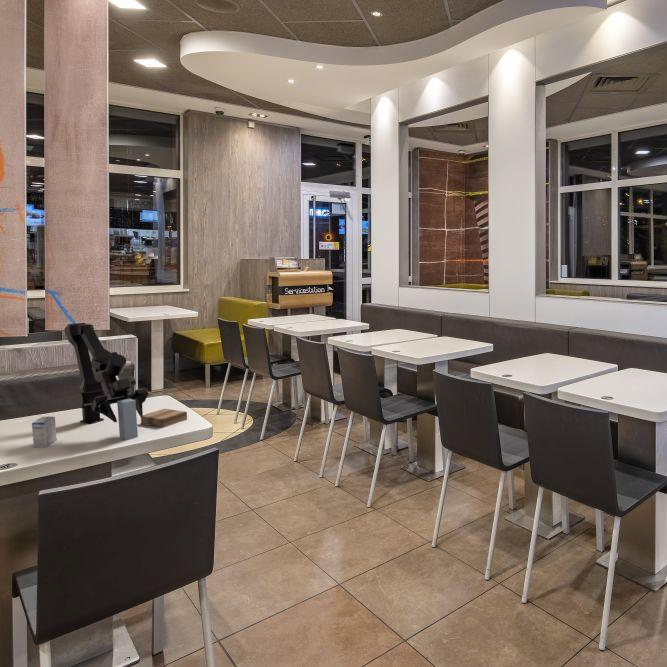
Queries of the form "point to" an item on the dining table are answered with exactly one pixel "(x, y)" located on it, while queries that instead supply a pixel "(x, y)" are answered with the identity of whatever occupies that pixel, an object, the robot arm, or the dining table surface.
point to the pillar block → (127, 419)
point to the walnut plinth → (164, 417)
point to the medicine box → (44, 432)
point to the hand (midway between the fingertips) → (129, 419)
